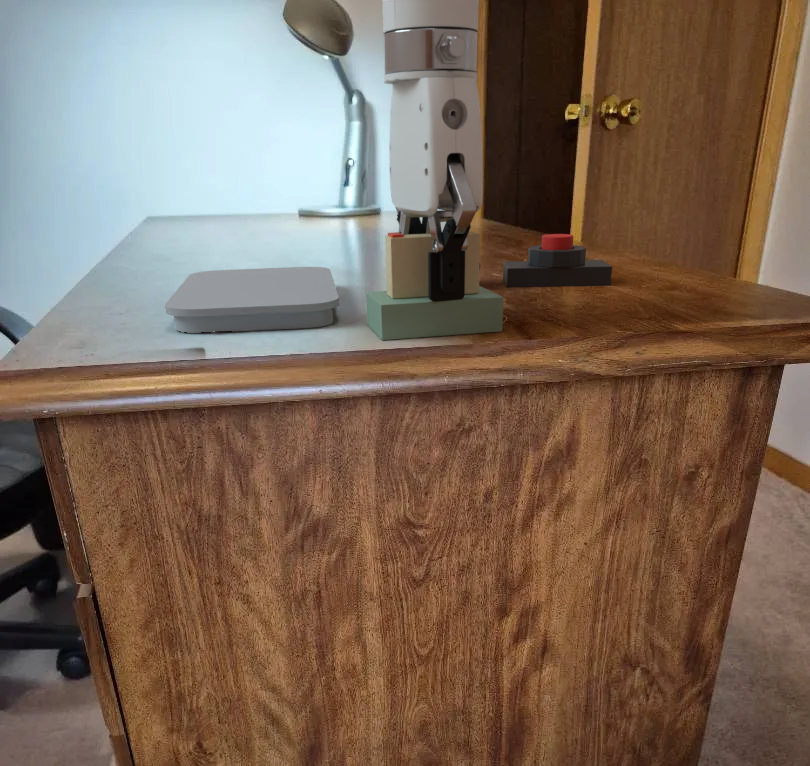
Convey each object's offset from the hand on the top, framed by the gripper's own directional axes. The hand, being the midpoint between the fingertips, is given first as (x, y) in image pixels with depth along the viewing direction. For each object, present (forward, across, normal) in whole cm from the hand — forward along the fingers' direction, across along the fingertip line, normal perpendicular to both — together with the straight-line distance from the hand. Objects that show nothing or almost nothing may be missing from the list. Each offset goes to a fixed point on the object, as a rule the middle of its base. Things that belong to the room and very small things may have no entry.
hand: (431, 292), depth 71 cm
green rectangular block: (+3, 0, 0) cm, 3 cm away
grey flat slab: (+3, +19, +12) cm, 22 cm away
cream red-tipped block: (0, 0, 0) cm, 0 cm away
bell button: (0, +17, -23) cm, 29 cm away
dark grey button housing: (+3, +17, -23) cm, 29 cm away
